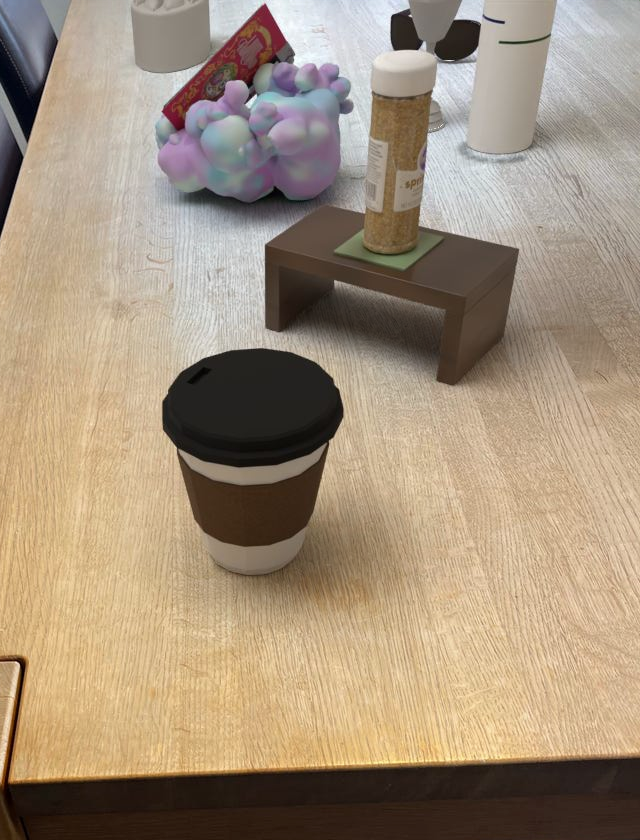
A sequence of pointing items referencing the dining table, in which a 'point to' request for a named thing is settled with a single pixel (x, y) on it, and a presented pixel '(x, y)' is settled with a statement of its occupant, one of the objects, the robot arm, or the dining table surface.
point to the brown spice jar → (397, 149)
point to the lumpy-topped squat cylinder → (170, 34)
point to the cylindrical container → (509, 74)
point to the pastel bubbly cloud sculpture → (255, 120)
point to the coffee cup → (252, 451)
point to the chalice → (433, 36)
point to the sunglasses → (452, 47)
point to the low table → (395, 279)
